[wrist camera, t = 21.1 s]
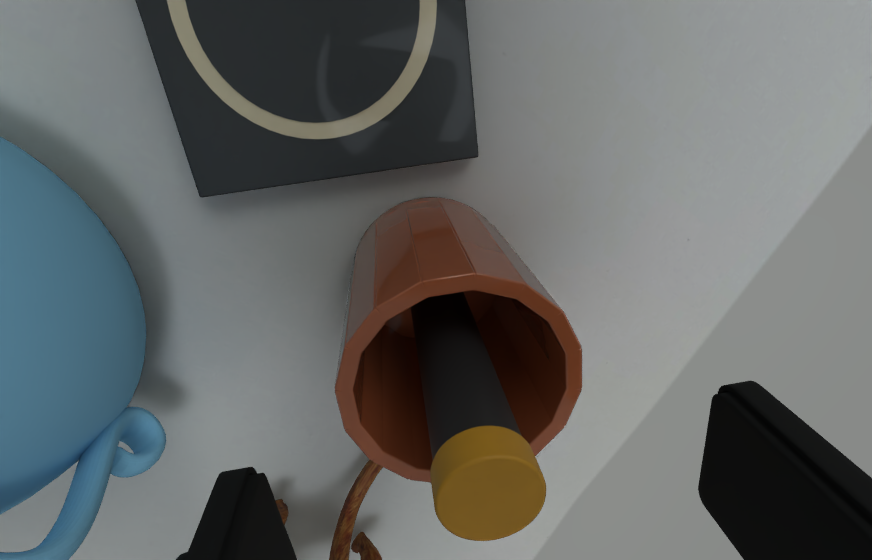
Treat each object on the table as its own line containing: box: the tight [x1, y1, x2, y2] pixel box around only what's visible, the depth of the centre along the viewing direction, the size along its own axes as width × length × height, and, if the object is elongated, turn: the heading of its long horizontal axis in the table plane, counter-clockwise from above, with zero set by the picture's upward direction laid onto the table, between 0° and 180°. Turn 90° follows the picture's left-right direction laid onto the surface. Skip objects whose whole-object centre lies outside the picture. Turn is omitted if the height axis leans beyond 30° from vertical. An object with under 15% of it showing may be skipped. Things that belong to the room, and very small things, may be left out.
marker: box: [411, 292, 546, 541], centre depth 15 cm, size 2×2×12 cm
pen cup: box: [335, 197, 582, 482], centre depth 17 cm, size 7×7×9 cm
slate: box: [136, 0, 478, 197], centre depth 17 cm, size 12×11×1 cm
